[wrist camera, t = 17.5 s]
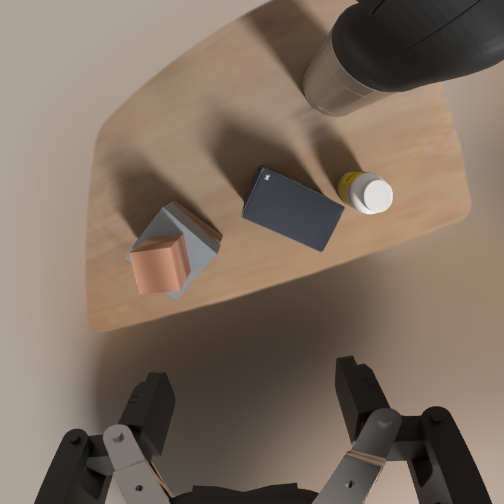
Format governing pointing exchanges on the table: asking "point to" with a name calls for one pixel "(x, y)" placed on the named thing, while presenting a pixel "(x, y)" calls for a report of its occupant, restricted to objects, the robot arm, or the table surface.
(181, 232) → the tower top
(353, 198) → the supplement bottle
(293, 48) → the table surface
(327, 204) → the small box
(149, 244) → the terracotta block
